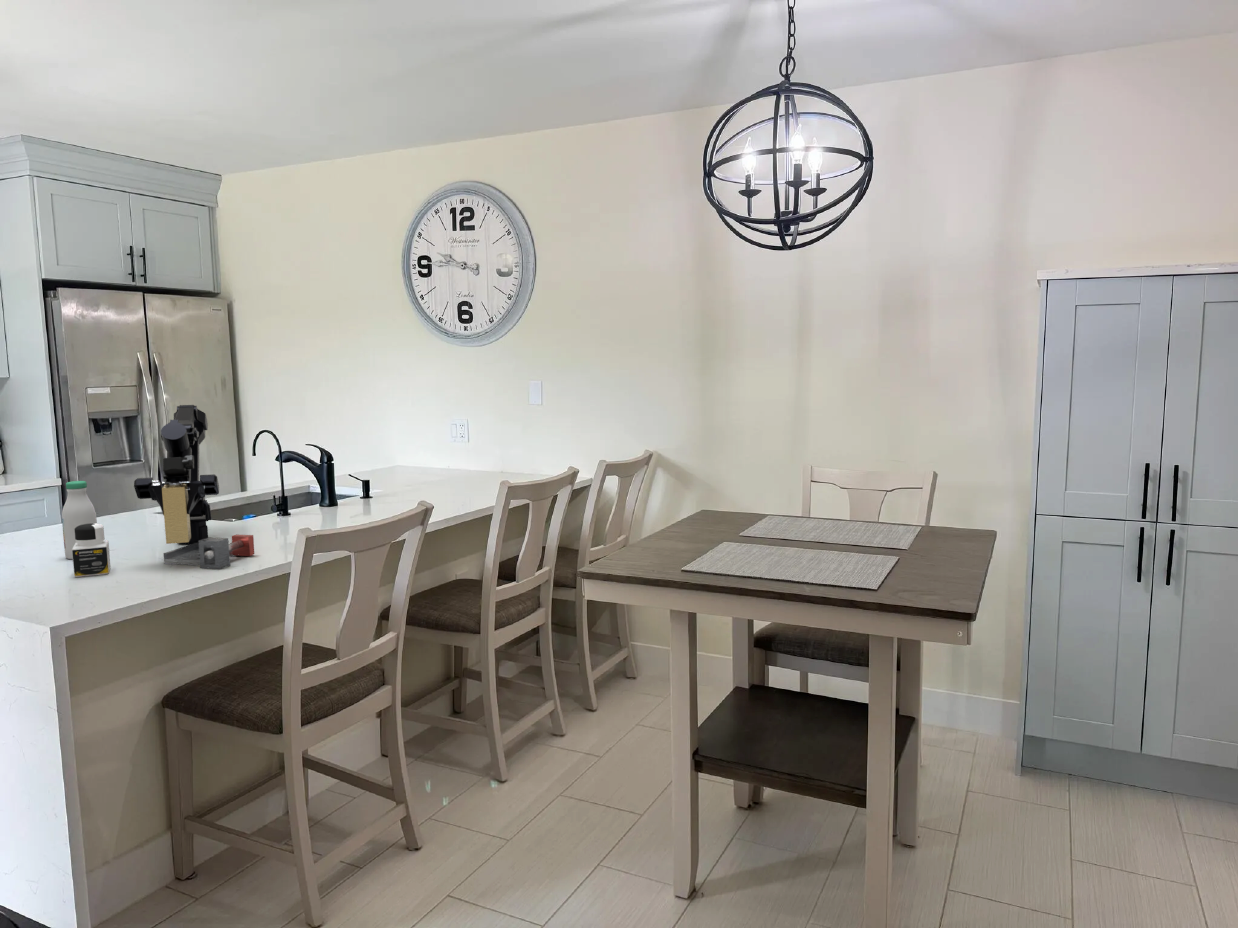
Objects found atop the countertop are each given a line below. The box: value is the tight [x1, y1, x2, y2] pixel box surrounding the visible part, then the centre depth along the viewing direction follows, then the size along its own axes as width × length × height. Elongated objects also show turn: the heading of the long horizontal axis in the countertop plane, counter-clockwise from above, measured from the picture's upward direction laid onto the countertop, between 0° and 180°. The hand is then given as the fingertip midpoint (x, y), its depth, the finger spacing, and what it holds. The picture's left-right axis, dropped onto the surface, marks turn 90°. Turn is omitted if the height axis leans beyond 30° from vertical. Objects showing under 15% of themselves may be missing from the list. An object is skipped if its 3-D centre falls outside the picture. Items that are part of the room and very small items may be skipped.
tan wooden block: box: [162, 482, 191, 545], centre depth 213 cm, size 5×5×15 cm
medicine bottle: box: [72, 522, 111, 578], centre depth 208 cm, size 7×7×12 cm
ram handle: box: [204, 534, 255, 559], centre depth 219 cm, size 5×15×5 cm, turn 169°
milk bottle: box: [61, 480, 98, 560], centre depth 224 cm, size 8×8×20 cm
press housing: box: [199, 536, 231, 570], centre depth 214 cm, size 6×4×7 cm
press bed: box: [163, 543, 234, 566], centre depth 222 cm, size 12×12×3 cm
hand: (176, 513), depth 212 cm, fingers closed on tan wooden block, 5 cm apart
